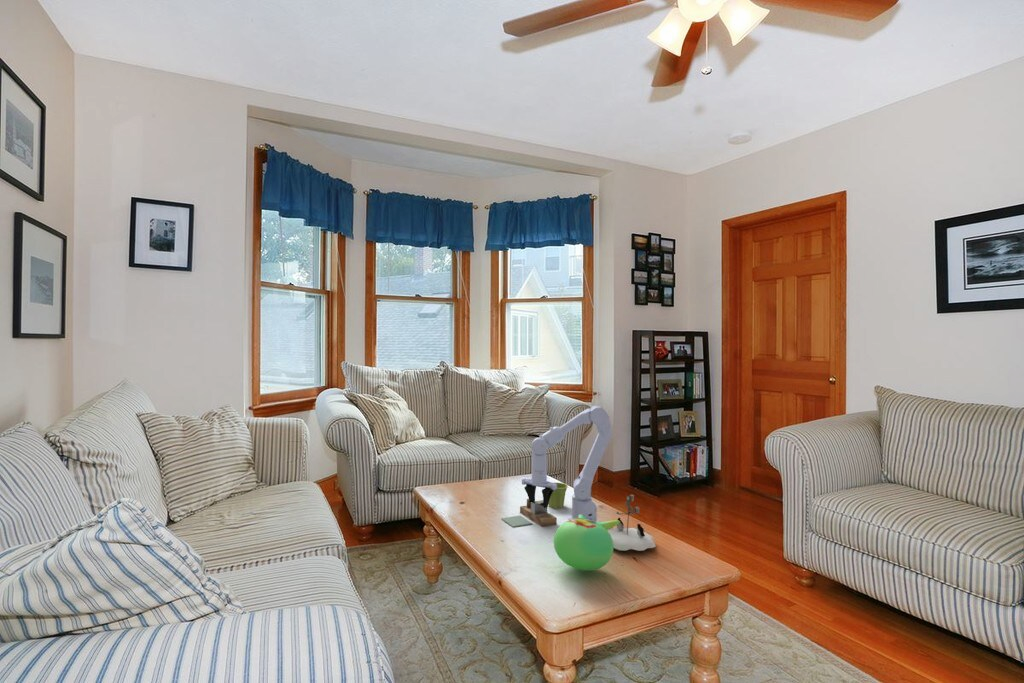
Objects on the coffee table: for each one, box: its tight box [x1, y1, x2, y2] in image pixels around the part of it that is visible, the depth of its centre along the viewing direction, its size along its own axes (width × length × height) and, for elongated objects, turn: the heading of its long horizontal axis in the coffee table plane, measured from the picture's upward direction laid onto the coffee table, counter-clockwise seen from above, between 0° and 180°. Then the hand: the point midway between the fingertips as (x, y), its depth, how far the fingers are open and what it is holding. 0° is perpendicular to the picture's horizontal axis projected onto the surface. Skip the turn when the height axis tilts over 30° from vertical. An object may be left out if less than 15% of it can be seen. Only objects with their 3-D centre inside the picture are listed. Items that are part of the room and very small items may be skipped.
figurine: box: [607, 494, 657, 552], centre depth 179 cm, size 20×18×16 cm
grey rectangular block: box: [531, 499, 548, 515], centre depth 202 cm, size 3×5×4 cm, turn 116°
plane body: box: [519, 498, 558, 528], centre depth 203 cm, size 18×6×6 cm, turn 26°
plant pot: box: [548, 482, 569, 509], centre depth 218 cm, size 9×9×9 cm
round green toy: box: [553, 514, 620, 571], centre depth 158 cm, size 18×17×15 cm
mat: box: [501, 515, 533, 528], centre depth 199 cm, size 10×8×1 cm
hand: (539, 505), depth 202 cm, fingers closed on grey rectangular block, 5 cm apart
